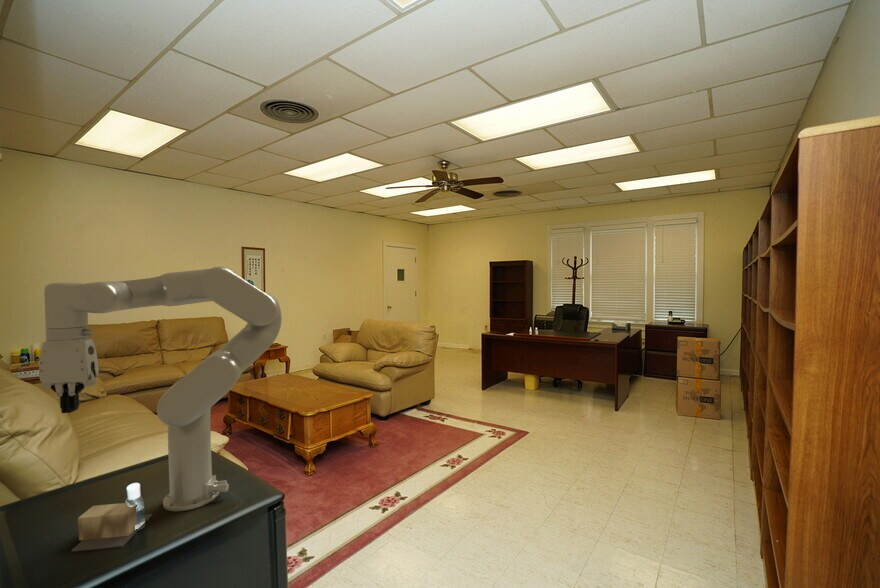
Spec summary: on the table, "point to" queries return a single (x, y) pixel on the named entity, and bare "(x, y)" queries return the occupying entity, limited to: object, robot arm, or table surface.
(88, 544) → the mat
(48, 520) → the table surface
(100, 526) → the maple block
